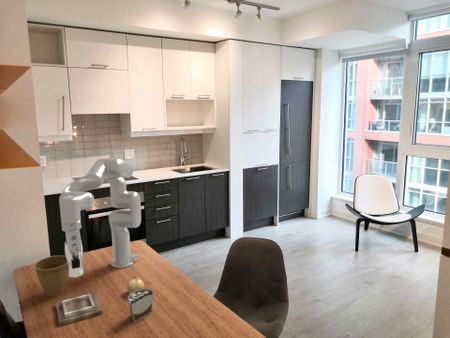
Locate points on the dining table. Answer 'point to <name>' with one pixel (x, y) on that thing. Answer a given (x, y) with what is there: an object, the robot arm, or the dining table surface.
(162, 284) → the dining table surface
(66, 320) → the holder board
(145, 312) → the food container
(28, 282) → the dining table surface
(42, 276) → the plant pot
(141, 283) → the onion
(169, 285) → the dining table surface
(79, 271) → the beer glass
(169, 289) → the dining table surface
